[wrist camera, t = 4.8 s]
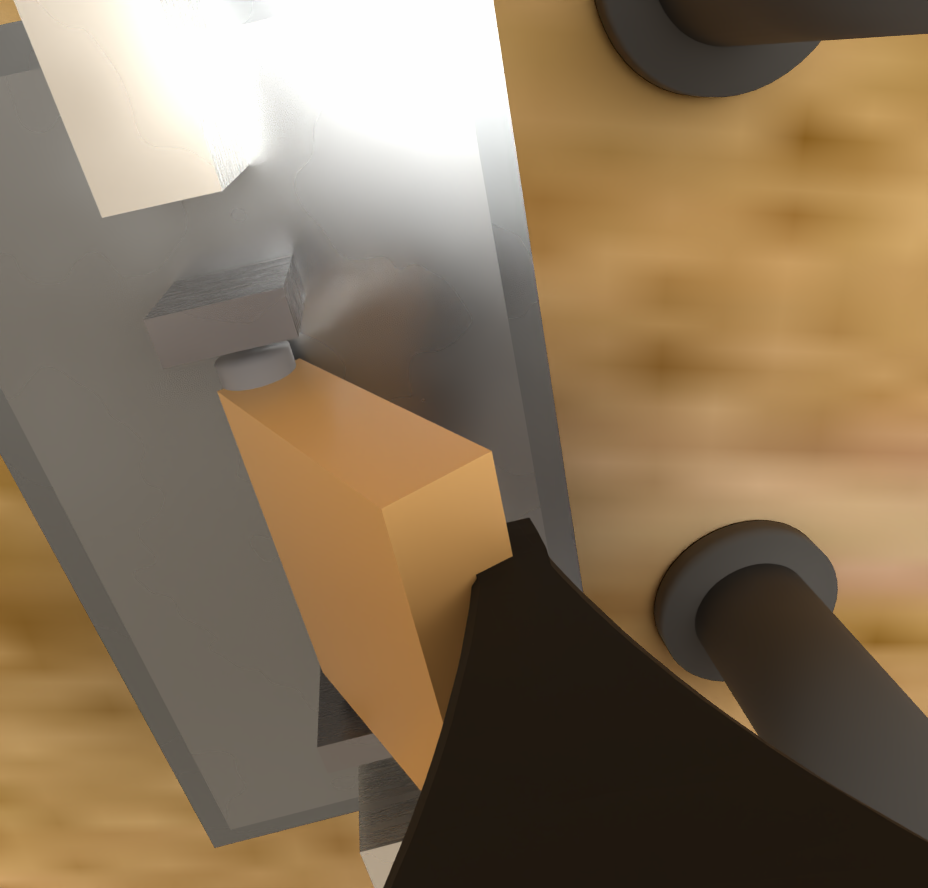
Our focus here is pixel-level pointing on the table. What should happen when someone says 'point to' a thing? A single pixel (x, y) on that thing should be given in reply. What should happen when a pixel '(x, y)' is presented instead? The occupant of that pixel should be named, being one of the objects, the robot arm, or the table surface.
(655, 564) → the table surface
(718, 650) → the post
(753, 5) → the cord post
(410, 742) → the tan flat block
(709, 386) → the table surface
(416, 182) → the panel
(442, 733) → the robot arm
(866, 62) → the table surface
